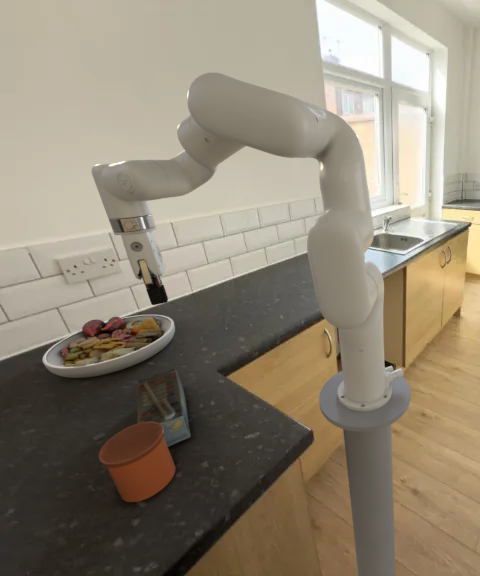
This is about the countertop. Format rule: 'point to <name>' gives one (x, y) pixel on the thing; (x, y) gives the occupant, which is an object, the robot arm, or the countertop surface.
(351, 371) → the robot arm
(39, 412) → the countertop surface
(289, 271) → the countertop surface
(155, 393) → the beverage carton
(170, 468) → the terracotta crock
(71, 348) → the food platter
